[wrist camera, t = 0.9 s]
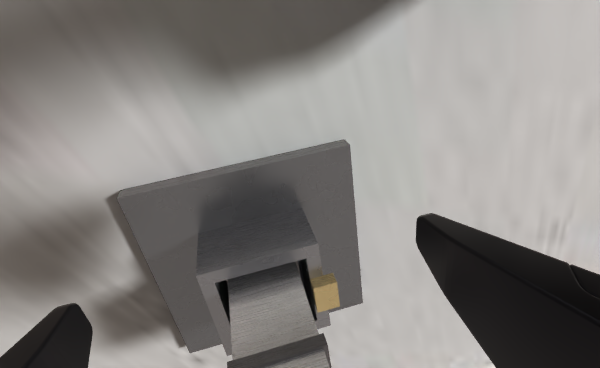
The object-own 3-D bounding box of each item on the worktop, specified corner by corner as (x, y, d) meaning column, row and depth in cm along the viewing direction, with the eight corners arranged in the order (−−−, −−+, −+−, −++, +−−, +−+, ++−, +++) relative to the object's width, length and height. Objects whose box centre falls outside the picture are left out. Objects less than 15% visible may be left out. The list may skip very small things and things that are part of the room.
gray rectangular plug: (287, 228, 23) (333, 363, 14) (297, 276, 25) (342, 419, 17) (222, 244, 23) (228, 395, 14) (237, 293, 25) (251, 449, 16)
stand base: (344, 139, 22) (383, 178, 17) (358, 293, 29) (388, 354, 24) (120, 190, 21) (91, 250, 16) (190, 342, 27) (186, 417, 22)
